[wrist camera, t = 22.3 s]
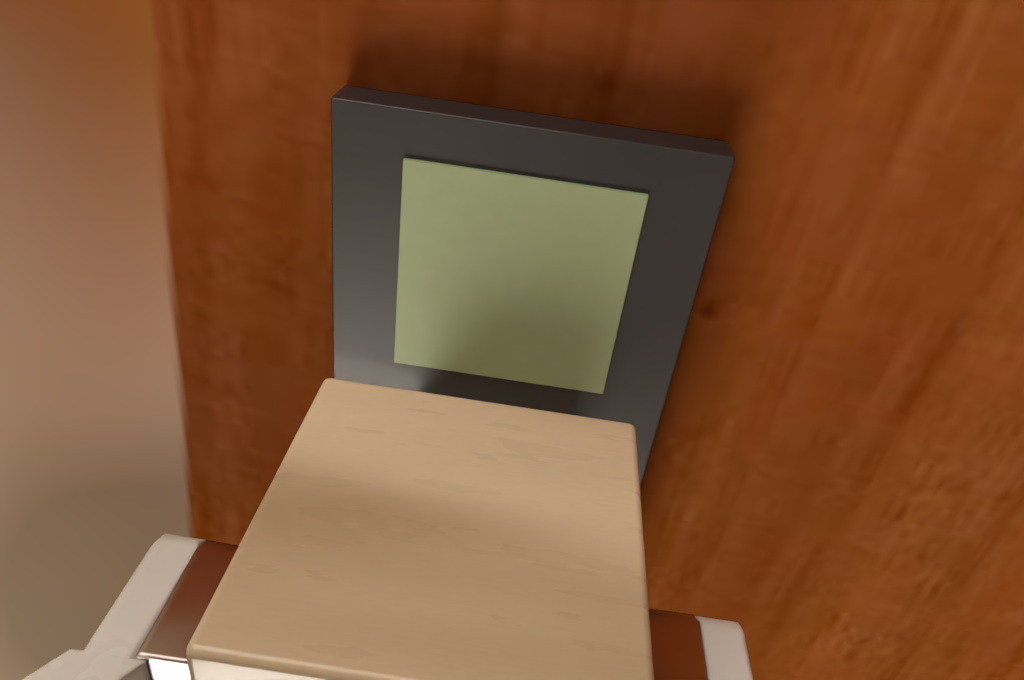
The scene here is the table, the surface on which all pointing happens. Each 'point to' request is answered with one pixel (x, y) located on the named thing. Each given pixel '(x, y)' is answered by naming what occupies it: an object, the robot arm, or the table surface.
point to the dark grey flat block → (517, 254)
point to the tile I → (437, 549)
